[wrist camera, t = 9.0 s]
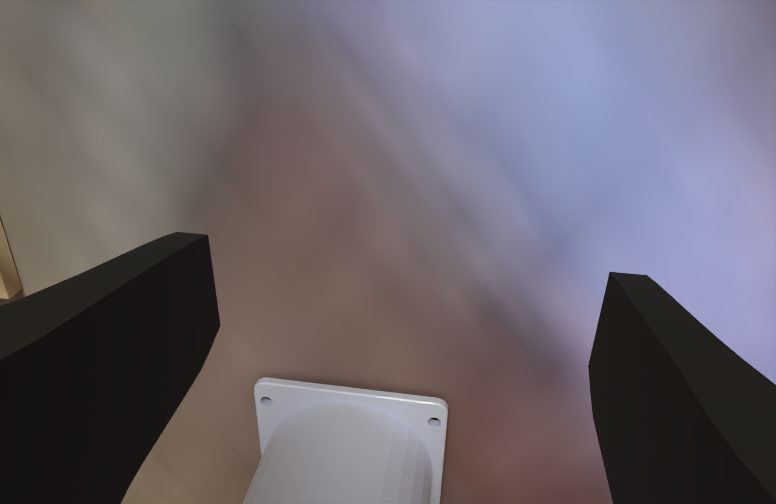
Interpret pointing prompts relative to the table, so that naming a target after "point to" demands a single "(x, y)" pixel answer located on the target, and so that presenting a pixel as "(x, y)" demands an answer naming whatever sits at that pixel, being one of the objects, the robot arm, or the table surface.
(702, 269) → the table surface
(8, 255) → the tan flat piece
